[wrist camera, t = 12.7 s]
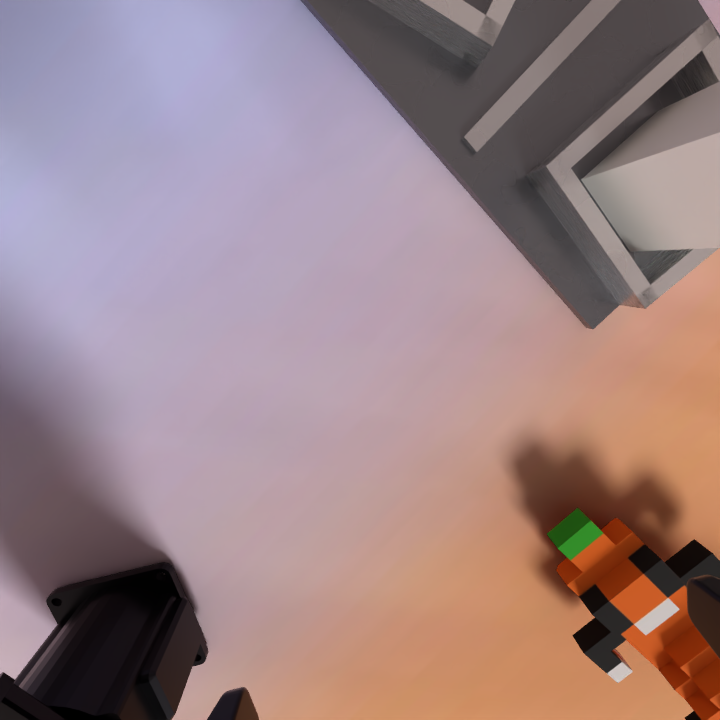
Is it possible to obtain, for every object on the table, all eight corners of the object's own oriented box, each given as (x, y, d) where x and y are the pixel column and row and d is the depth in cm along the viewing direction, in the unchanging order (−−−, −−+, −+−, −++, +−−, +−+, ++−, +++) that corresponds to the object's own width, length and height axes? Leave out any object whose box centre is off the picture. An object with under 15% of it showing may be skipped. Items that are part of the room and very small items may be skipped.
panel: (269, -37, 15) (265, -53, 14) (484, -308, 13) (494, -344, 13) (586, 327, 19) (597, 330, 18) (777, 150, 17) (797, 145, 17)
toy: (732, 809, 19) (540, 648, 16) (639, 681, 25) (486, 544, 22) (877, 712, 18) (702, 519, 15) (744, 602, 24) (599, 447, 21)
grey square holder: (611, 303, 19) (645, 308, 17) (521, 177, 17) (546, 166, 15) (744, 192, 18) (796, 183, 16) (662, 49, 16) (708, 18, 14)
